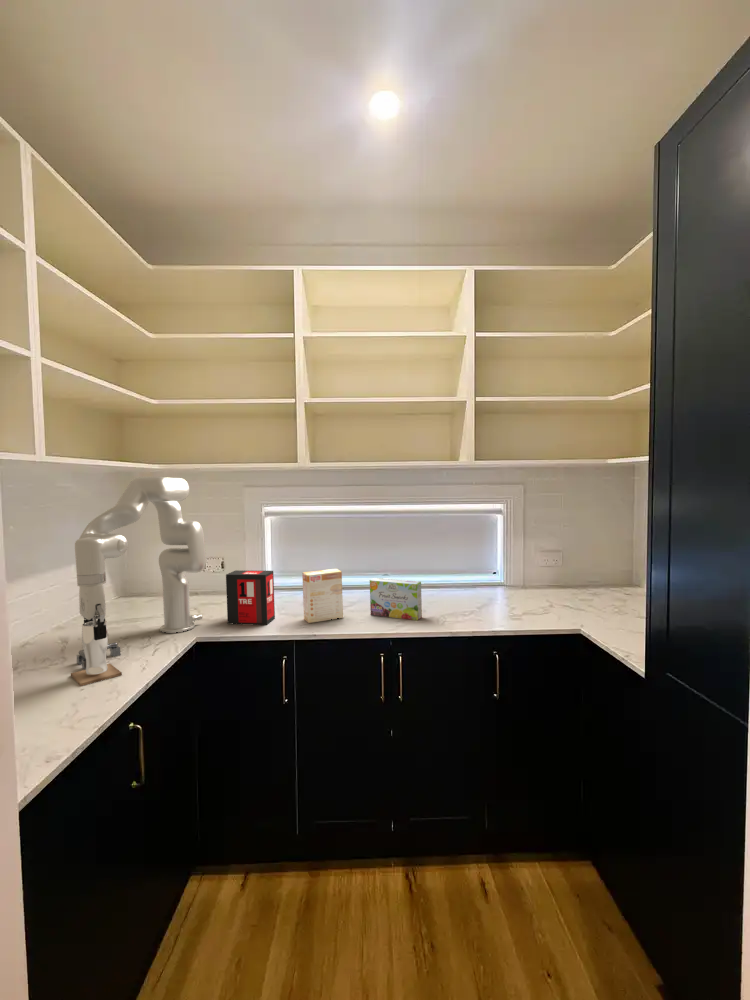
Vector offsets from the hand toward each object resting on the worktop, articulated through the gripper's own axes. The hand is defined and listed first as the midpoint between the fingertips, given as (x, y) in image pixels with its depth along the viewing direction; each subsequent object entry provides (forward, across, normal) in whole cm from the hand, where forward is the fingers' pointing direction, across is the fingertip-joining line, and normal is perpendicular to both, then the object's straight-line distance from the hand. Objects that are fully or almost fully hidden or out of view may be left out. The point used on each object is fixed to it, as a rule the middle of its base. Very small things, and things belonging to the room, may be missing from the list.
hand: (95, 635), depth 154 cm
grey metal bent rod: (+12, -11, +4) cm, 17 cm away
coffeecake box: (+14, +4, +83) cm, 85 cm away
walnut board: (+12, 0, -1) cm, 12 cm away
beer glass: (+12, 0, 0) cm, 12 cm away
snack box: (+14, +24, +105) cm, 109 cm away
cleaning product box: (+14, -16, +61) cm, 65 cm away
